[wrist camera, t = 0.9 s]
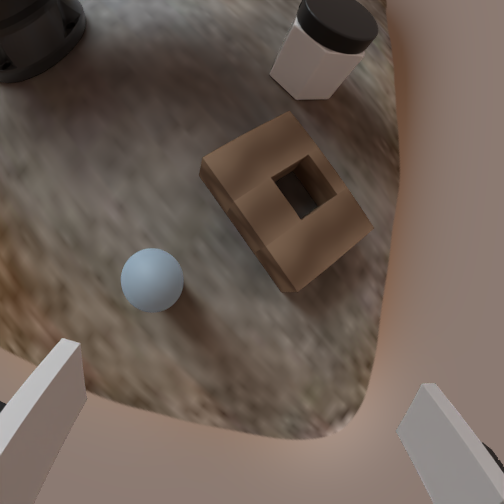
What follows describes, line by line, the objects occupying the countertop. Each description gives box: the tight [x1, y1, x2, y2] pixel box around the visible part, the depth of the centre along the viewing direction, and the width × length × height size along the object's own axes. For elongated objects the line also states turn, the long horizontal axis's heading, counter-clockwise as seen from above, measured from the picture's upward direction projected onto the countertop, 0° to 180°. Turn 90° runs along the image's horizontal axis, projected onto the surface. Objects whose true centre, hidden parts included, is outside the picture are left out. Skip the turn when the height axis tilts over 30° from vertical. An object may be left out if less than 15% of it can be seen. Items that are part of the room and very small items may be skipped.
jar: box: [270, 0, 378, 100], centre depth 30 cm, size 9×8×12 cm
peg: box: [121, 248, 184, 312], centre depth 22 cm, size 3×3×14 cm
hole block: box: [199, 111, 374, 292], centre depth 30 cm, size 14×10×4 cm
